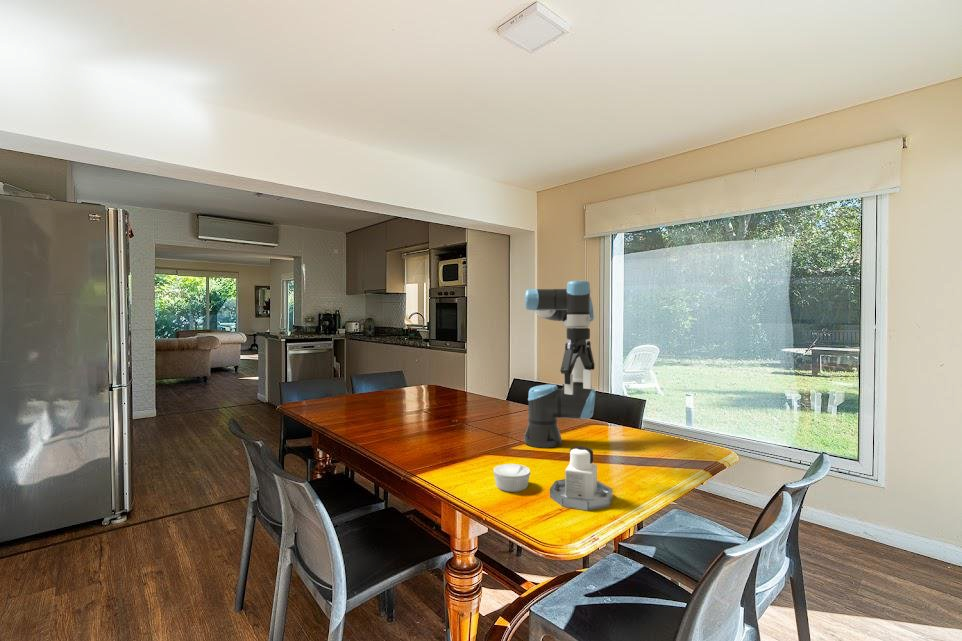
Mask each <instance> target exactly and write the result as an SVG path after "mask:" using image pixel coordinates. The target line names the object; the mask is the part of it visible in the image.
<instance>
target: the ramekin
mask: <svg viewBox="0 0 962 641" xmlns="http://www.w3.org/2000/svg"><path fill="white" fill-rule="evenodd" d="M493 474H494V481H495V486H496V487H497V488H498V490H500V491H504V492H507V493H519V492H522V491H524V490H526V489H527V488H528V485H529V480H530V475H531V469H530V468H529V467H527V466H526V465H523V464H518V463H517V464H516V463H504V464H498V465H496V466H494V467H493Z"/></svg>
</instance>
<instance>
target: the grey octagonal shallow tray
mask: <svg viewBox="0 0 962 641" xmlns="http://www.w3.org/2000/svg"><path fill="white" fill-rule="evenodd" d="M613 493H614V491H613V488H611V487H610V486H609V485H606V484H605V483H603V482H602V481H599V480H597V491H596V494H595V496H594V498H593V499H591V500H587V499H580V498H574V497H568V496H565V478H564V479H558V480H555V481H554V482H553V483H552V485H551V486H550V488H549V498H550V499H552V500H553V501H554V502H556V503H557V504H558V505H560V506H561V507H563V508H570V509H575V510H576V509H577V510H581V511H593V510H594V511H595V510H599V509H604V508H605V509H606V508H610V506H611V503H612V501H613V498H614V496H613Z"/></svg>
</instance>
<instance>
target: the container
mask: <svg viewBox="0 0 962 641" xmlns="http://www.w3.org/2000/svg"><path fill="white" fill-rule="evenodd" d="M564 473H565V475H564V477H565V478H564V479H565V496H568V497H574V498H580V499H587V500H591V499H593V498H594V496H595V494H596V491H597V481H598V465H597V464H594V451H593V449H591V448H589V447H587V446H574V447H571V448H570V449H569V464H568V465H567V466H566V468H565V471H564Z"/></svg>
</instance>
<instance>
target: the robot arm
mask: <svg viewBox="0 0 962 641" xmlns="http://www.w3.org/2000/svg"><path fill="white" fill-rule="evenodd" d="M524 296H525V300H524V303H525V304H524V305H525V309H526V310H527V311H528V310H529V311H535V314H537V316H538V317H540V318H543V319H545V320H549V321H553V322H560V321H561V322H562V326H563V327H565V328H566V341H565V344H564V345H565V347H564V353H563V358H562V361H561V362H562V363H561V366H560V371H559V372H560V373H561V374H563V375H564V383H562V388H558V386H557V385H556V384H550V383H549V384H540V385H536V386H533V387H530V388H529V390H528V398H527V401H528V415H527V416H528V423H527V427H526V431H525V433H524V436H523V441H524V442H525V443H526V444H525V443H524V444H525V445H527V444H528V445H527V446H529V445H530V446H529V447H533V446H534V448H539V447H541V449H543V448H544V449H546V448H547V449H548V448H549V447H551V448H555V447H556V446H557V447H559V446H561V445H562V444H563V443H562V442H563V440H562V435H561V432H560V430H559V425H558V419H560V418H561V419H578V420H583V419H584V420H585V419H587V420H588V419H591V418H592V417H593V416H594V409H595V401H596V392H597V391H596V389H594V388H592V387H593V386H592V371H593V370H595V366H596V365H595V361H594V360H595V359H594V357H593V351H592V347H591V344H592V343H591V341H589V340H590V339H591V329H590V326H591V322H593V321H594V317H595V316H594V306H593V301H592V297H591V283H590V281H588V280H570V281H567V284H566V288H533V289H531V288H530V289H527V290H526V291H525V295H524ZM549 449H550V448H549Z"/></svg>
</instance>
